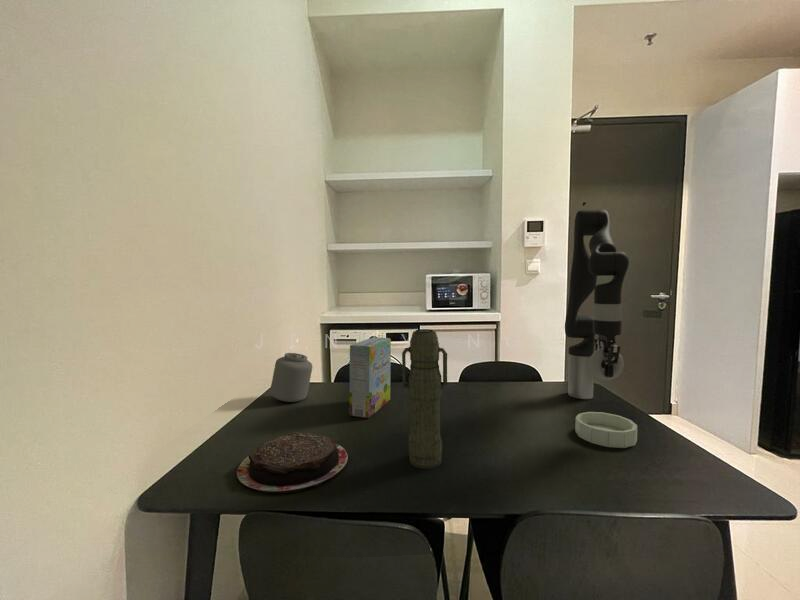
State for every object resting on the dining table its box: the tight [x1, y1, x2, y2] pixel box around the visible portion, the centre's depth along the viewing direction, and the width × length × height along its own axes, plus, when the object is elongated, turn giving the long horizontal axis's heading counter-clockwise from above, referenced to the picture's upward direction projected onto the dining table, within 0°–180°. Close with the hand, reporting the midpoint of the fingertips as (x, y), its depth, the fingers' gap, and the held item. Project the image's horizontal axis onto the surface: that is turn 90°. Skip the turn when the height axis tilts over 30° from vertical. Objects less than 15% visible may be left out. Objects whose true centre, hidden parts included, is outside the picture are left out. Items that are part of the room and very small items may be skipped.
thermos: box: [401, 328, 448, 469], centre depth 98 cm, size 9×12×35 cm
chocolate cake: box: [236, 432, 349, 494], centre depth 97 cm, size 28×28×7 cm
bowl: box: [574, 411, 638, 449], centre depth 112 cm, size 16×16×4 cm
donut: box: [589, 348, 625, 381], centre depth 112 cm, size 10×4×10 cm, turn 88°
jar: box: [269, 338, 313, 403], centre depth 150 cm, size 19×15×25 cm
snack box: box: [348, 336, 392, 419], centre depth 139 cm, size 22×9×26 cm, turn 161°
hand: (606, 374), depth 112 cm, fingers closed on donut, 3 cm apart
